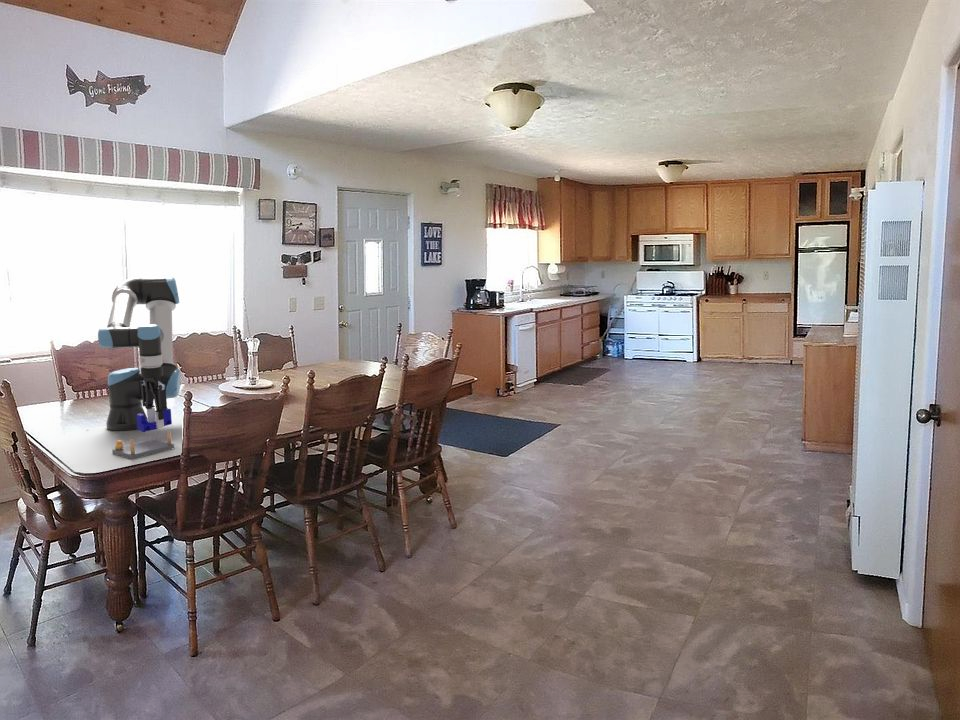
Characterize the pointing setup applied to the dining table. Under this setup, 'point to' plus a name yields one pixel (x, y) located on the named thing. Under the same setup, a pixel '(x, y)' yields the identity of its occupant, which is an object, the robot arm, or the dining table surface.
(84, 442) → the dining table surface
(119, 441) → the wire nut
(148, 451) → the junction plate
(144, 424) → the blue u-shaped block
